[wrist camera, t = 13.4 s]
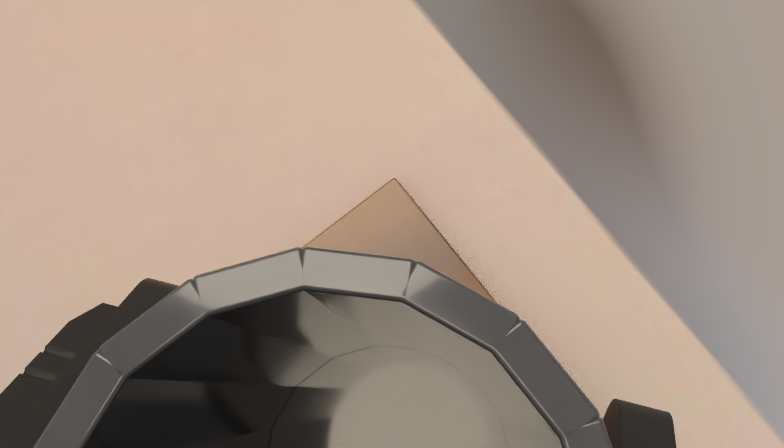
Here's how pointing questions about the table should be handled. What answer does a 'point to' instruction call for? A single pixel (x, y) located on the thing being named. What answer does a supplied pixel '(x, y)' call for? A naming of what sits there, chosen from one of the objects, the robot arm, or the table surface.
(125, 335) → the open gray tube
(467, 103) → the table surface
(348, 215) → the plate
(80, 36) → the table surface
